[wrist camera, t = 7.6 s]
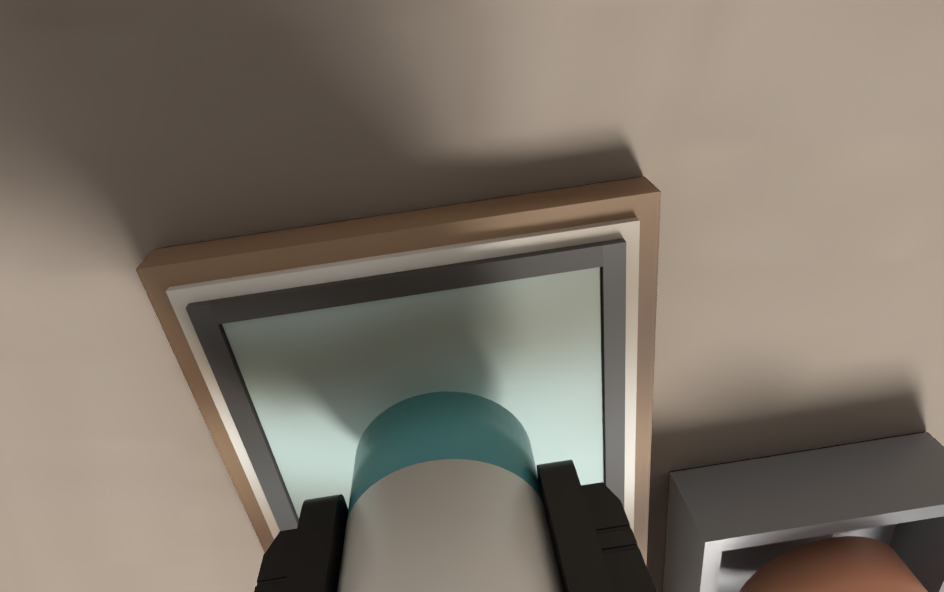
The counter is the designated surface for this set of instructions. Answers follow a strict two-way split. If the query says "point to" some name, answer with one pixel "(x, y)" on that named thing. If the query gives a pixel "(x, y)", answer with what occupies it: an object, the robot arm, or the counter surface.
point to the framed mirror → (422, 336)
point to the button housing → (806, 510)
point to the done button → (836, 569)
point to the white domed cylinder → (446, 502)
